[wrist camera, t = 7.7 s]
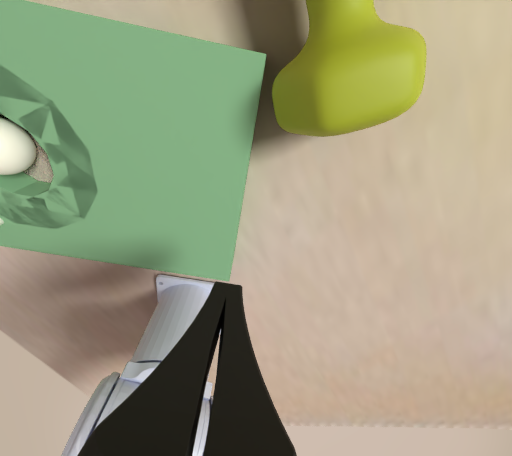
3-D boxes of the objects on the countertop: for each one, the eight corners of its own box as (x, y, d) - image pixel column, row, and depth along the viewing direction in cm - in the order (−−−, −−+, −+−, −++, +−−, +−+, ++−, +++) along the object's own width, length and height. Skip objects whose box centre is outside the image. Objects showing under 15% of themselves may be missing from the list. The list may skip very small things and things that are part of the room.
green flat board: (232, 263, 25) (229, 281, 23) (3, 227, 23) (-23, 242, 21) (266, 57, 15) (266, 54, 13) (-127, -30, 13) (-200, -50, 11)
